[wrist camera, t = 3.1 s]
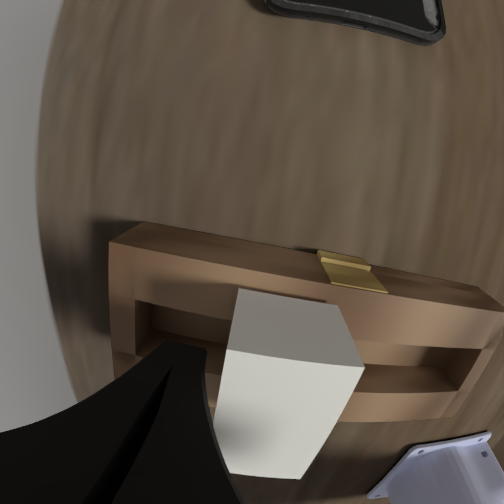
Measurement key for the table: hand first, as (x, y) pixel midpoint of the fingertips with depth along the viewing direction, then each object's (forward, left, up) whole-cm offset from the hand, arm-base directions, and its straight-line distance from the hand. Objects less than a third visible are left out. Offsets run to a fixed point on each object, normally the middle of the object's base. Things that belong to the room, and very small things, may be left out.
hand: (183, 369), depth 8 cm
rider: (-3, 0, -3) cm, 4 cm away
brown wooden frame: (-5, 0, -4) cm, 7 cm away
